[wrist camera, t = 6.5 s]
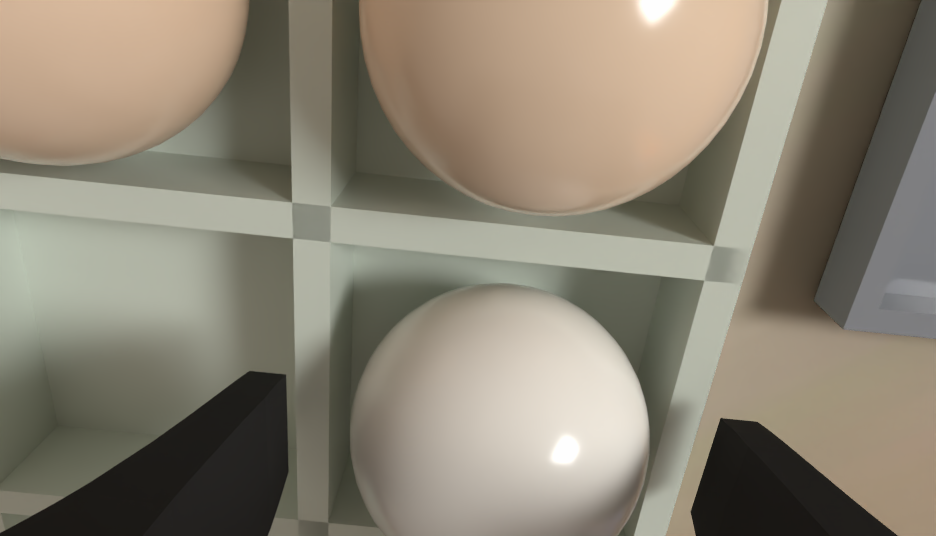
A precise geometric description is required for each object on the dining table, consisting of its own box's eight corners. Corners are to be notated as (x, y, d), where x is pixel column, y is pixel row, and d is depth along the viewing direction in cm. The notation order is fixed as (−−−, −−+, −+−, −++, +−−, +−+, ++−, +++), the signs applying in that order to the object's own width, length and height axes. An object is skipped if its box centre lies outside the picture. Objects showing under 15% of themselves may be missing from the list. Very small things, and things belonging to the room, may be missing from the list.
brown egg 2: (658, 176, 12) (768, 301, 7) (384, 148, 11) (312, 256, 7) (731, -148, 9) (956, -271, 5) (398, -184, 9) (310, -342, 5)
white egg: (594, 459, 14) (644, 683, 10) (371, 436, 14) (315, 651, 10) (641, 253, 12) (734, 414, 8) (381, 226, 12) (316, 371, 8)
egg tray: (581, 664, 18) (594, 767, 16) (92, 616, 18) (31, 713, 15) (808, -218, 10) (913, -286, 7) (-106, -317, 9) (-306, -418, 7)
